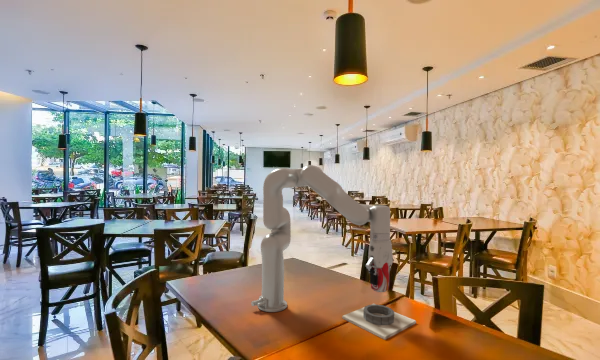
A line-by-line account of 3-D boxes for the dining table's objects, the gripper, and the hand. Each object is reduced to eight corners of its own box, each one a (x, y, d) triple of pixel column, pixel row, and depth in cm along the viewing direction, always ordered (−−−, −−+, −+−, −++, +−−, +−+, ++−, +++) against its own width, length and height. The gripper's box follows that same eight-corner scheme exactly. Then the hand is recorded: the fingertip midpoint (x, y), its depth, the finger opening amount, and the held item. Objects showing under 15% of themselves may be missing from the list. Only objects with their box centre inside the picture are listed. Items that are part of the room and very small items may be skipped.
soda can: (389, 294, 113) (390, 262, 113) (370, 292, 114) (371, 261, 114) (388, 287, 119) (388, 257, 119) (370, 286, 121) (370, 256, 121)
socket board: (384, 339, 103) (385, 328, 103) (342, 318, 118) (342, 308, 118) (415, 323, 115) (416, 312, 115) (373, 305, 131) (373, 296, 131)
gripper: (374, 241, 108) (373, 290, 108) (401, 235, 119) (400, 280, 119) (358, 238, 114) (357, 284, 114) (385, 233, 125) (385, 275, 125)
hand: (379, 281), depth 117 cm, fingers closed on soda can, 7 cm apart
